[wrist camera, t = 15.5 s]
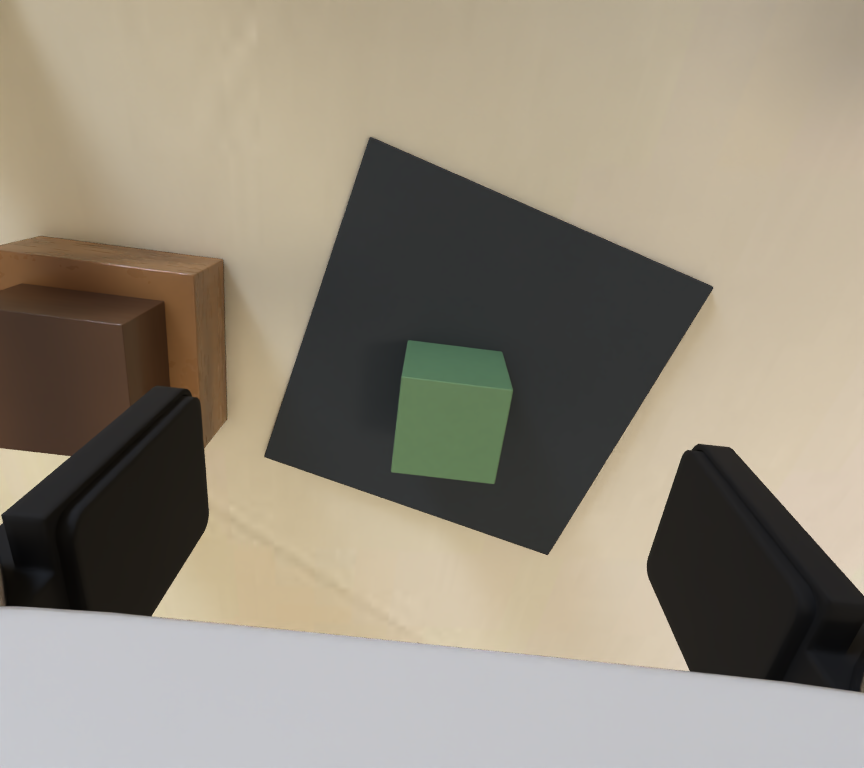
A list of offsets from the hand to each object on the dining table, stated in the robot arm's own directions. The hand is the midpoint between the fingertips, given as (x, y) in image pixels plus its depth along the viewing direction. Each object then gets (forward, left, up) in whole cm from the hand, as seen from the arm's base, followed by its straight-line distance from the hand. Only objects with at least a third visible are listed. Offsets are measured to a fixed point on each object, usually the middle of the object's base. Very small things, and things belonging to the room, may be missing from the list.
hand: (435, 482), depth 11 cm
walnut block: (+15, +10, -18) cm, 25 cm away
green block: (-3, +7, -21) cm, 22 cm away
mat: (-4, +5, -22) cm, 23 cm away
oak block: (+15, +10, -22) cm, 28 cm away
